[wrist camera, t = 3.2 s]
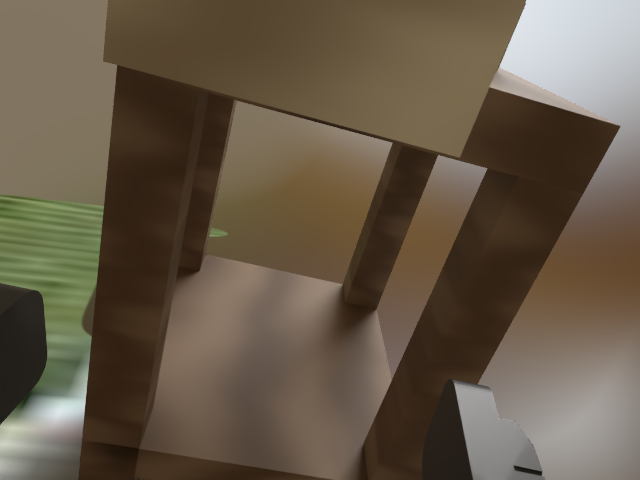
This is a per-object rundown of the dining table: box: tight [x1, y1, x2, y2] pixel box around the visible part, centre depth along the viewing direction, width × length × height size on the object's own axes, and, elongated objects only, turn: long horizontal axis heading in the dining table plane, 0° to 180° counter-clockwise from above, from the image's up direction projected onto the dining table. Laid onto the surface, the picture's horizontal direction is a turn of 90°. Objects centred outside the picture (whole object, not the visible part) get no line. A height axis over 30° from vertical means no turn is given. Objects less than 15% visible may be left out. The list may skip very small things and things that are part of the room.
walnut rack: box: [79, 65, 620, 480], centre depth 31 cm, size 16×18×32 cm
